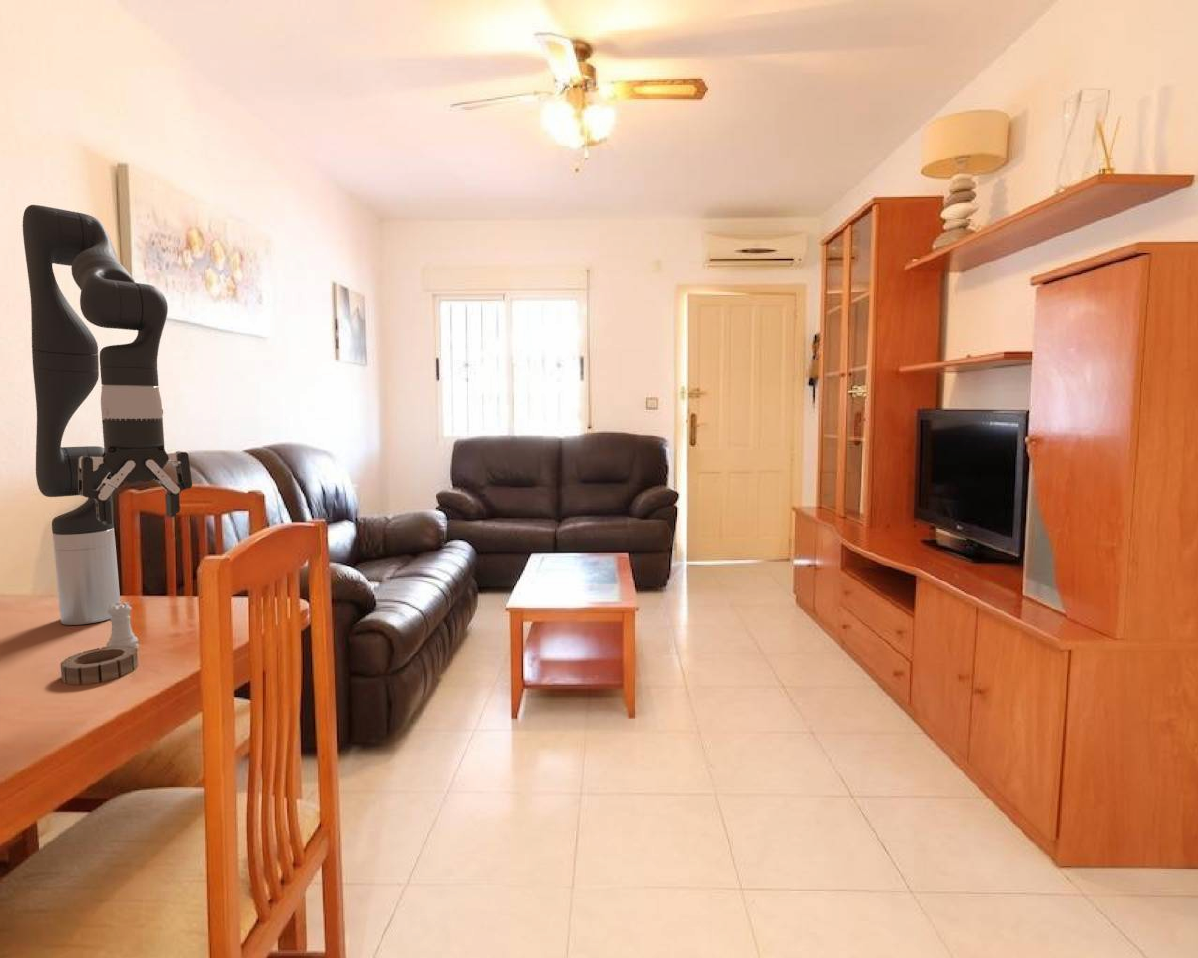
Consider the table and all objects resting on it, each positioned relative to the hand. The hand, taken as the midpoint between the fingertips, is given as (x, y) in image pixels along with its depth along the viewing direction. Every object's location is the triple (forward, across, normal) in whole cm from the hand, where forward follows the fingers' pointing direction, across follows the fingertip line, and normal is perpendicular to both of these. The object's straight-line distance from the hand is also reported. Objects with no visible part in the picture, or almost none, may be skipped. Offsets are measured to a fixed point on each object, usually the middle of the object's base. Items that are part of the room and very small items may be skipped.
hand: (140, 520), depth 100 cm
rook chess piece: (+23, +1, -8) cm, 25 cm away
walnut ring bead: (+23, +6, 0) cm, 24 cm away
